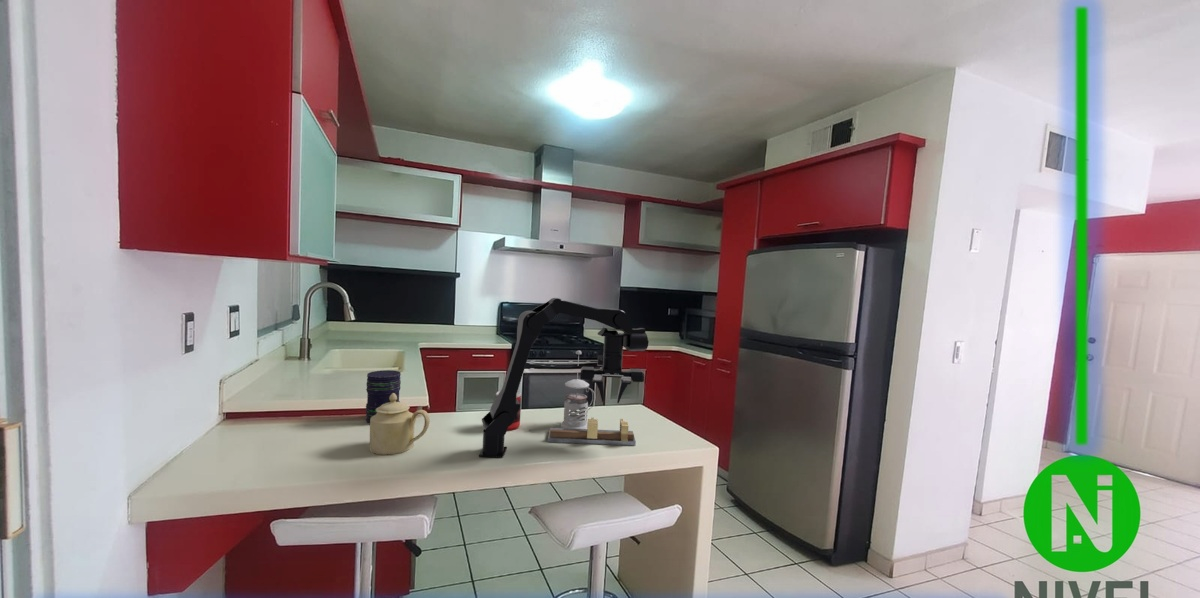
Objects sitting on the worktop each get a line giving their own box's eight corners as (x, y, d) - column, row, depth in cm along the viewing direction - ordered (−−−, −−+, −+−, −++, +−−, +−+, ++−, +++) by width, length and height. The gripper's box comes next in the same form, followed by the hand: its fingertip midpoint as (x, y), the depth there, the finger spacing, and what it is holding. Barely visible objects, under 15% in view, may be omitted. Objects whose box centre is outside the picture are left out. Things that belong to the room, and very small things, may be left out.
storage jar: (359, 424, 137) (360, 376, 136) (373, 414, 147) (374, 369, 146) (392, 424, 138) (394, 377, 137) (404, 415, 148) (405, 370, 147)
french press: (555, 422, 148) (559, 348, 147) (586, 418, 154) (590, 347, 153) (567, 431, 140) (571, 353, 139) (599, 427, 145) (603, 352, 144)
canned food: (492, 424, 143) (493, 390, 143) (516, 422, 147) (517, 389, 146) (497, 432, 136) (498, 397, 136) (522, 429, 140) (524, 395, 139)
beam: (634, 441, 131) (634, 426, 131) (549, 438, 130) (550, 422, 130) (631, 433, 138) (632, 418, 138) (551, 430, 137) (552, 415, 137)
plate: (635, 445, 131) (635, 441, 131) (547, 442, 130) (547, 437, 130) (632, 434, 140) (632, 430, 140) (550, 431, 139) (550, 427, 139)
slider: (597, 439, 131) (597, 423, 131) (586, 438, 131) (587, 423, 131) (596, 431, 138) (597, 416, 137) (586, 430, 138) (587, 416, 137)
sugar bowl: (428, 437, 130) (430, 386, 129) (428, 451, 119) (430, 396, 119) (372, 441, 124) (373, 388, 124) (366, 456, 114) (368, 399, 113)
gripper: (641, 348, 140) (638, 396, 141) (582, 345, 139) (579, 394, 140) (645, 354, 129) (642, 406, 130) (581, 351, 128) (579, 404, 129)
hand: (610, 402), depth 132 cm, fingers open, 4 cm apart
